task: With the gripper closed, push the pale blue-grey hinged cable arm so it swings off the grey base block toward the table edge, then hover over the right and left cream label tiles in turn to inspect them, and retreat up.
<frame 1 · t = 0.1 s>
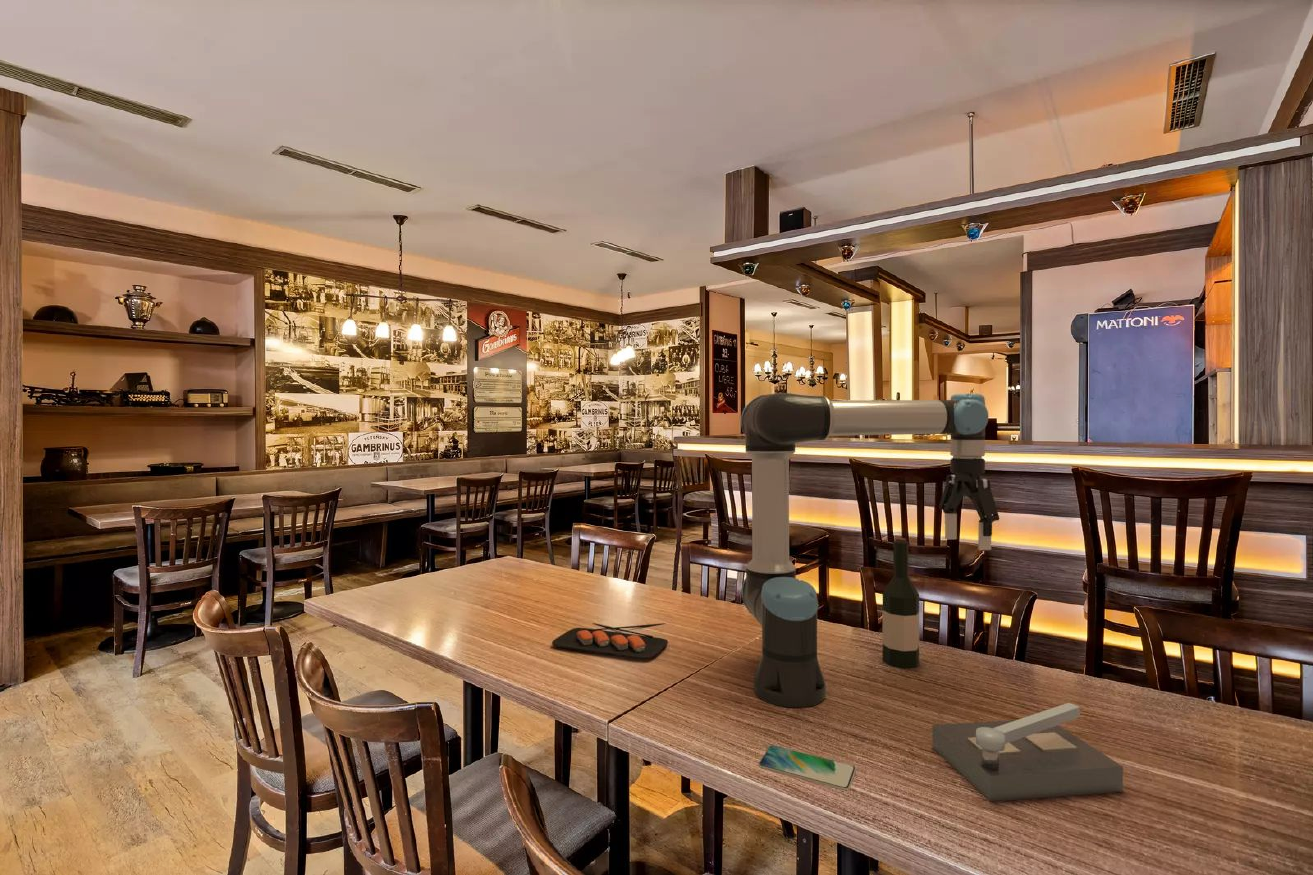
hand: (967, 544, 150), 28 cm above the table, fingers open, 13 cm apart
cable arm: (1030, 725, 101), point 8 cm above the table, hinge at 20.0°
grey base block: (1021, 768, 103), on the table
wine bottle: (900, 663, 149), on the table
smartphone: (806, 771, 103), on the table
sushi plate: (622, 639, 168), on the table
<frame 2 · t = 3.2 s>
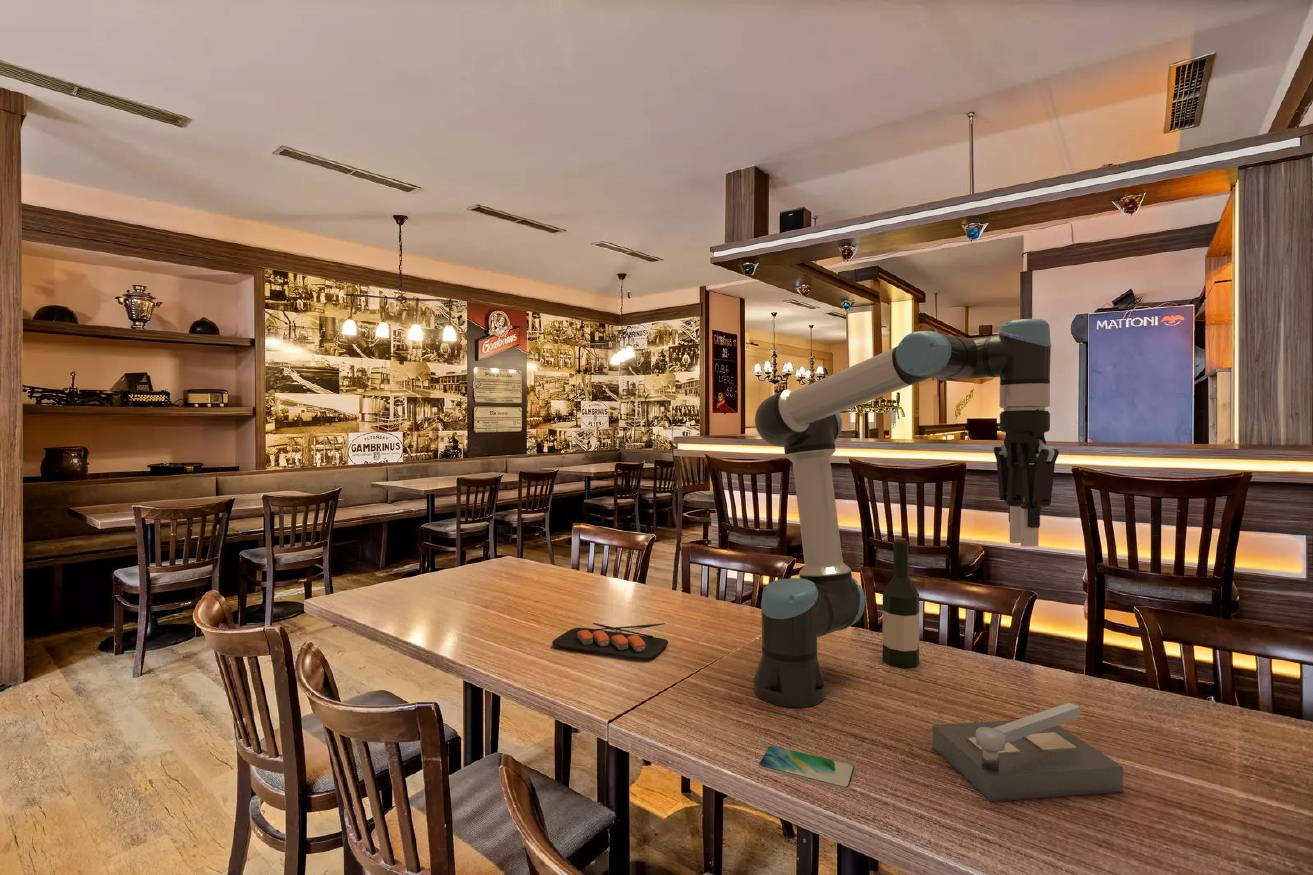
hand: (1023, 544, 107), 36 cm above the table, fingers open, 2 cm apart
nothing on the table moved.
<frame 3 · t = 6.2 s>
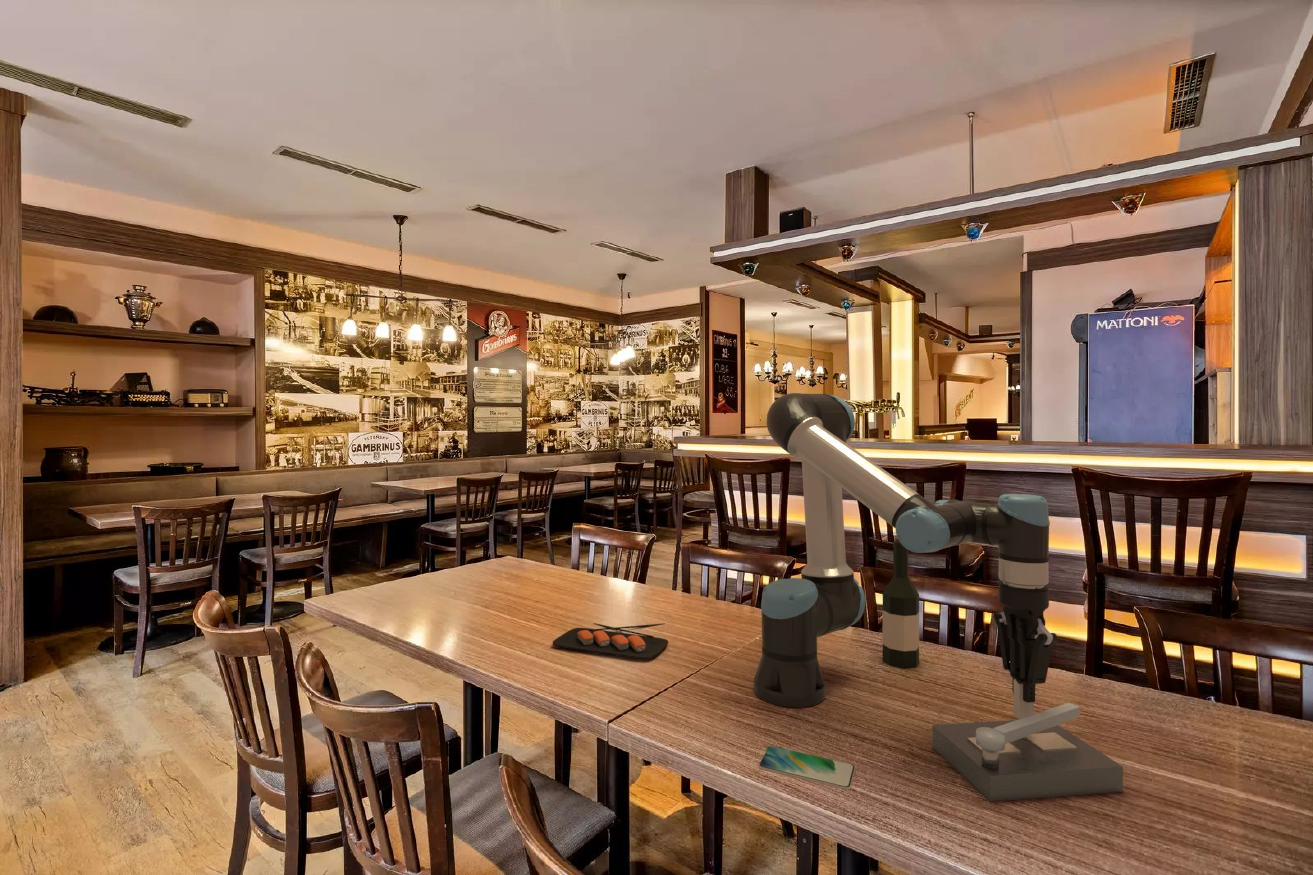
hand: (1023, 717, 108), 6 cm above the table, fingers closed
nothing on the table moved.
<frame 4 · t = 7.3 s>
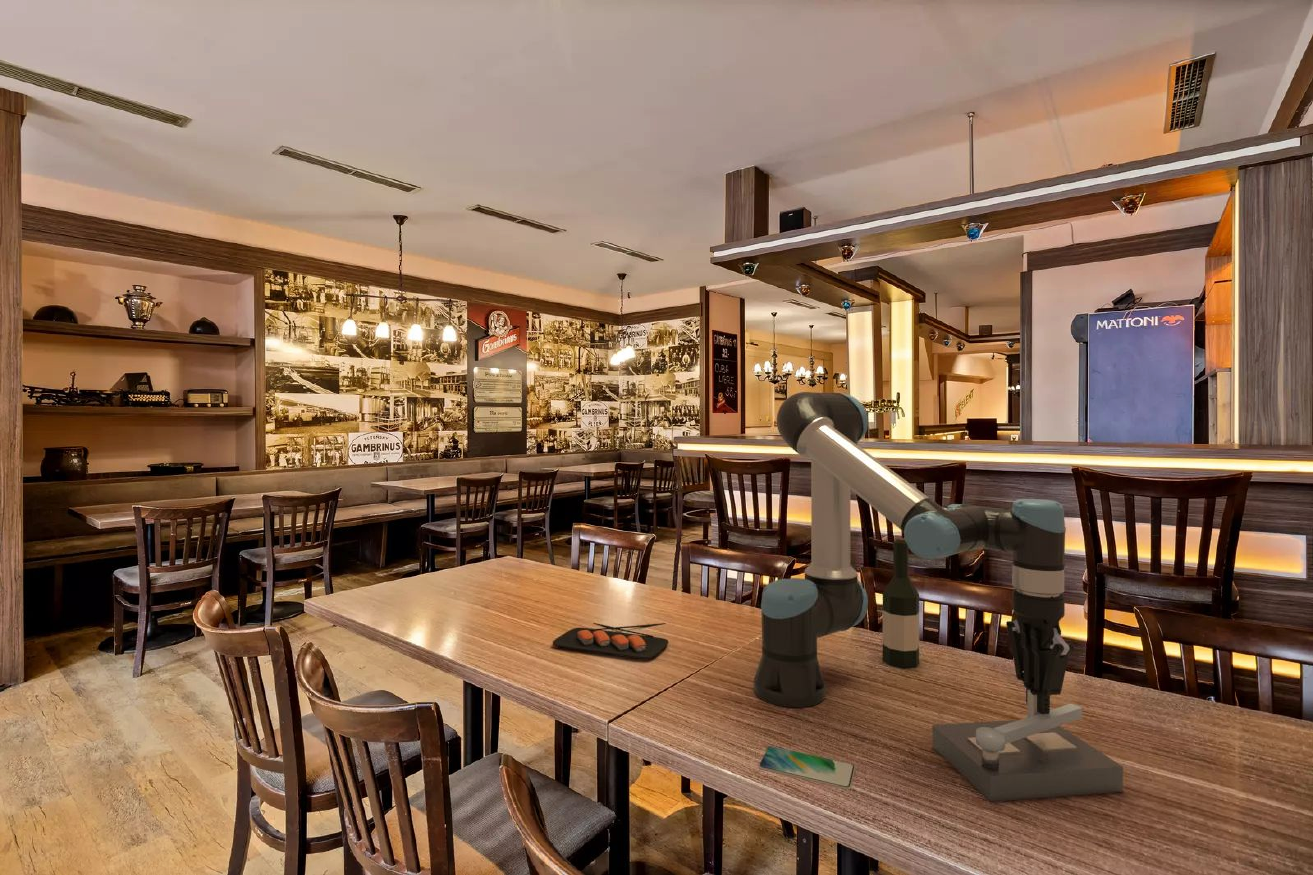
hand: (1037, 728, 105), 6 cm above the table, fingers closed
cable arm: (1031, 725, 101), point 8 cm above the table, hinge at 19.0°, touching gripper
everything else where it was.
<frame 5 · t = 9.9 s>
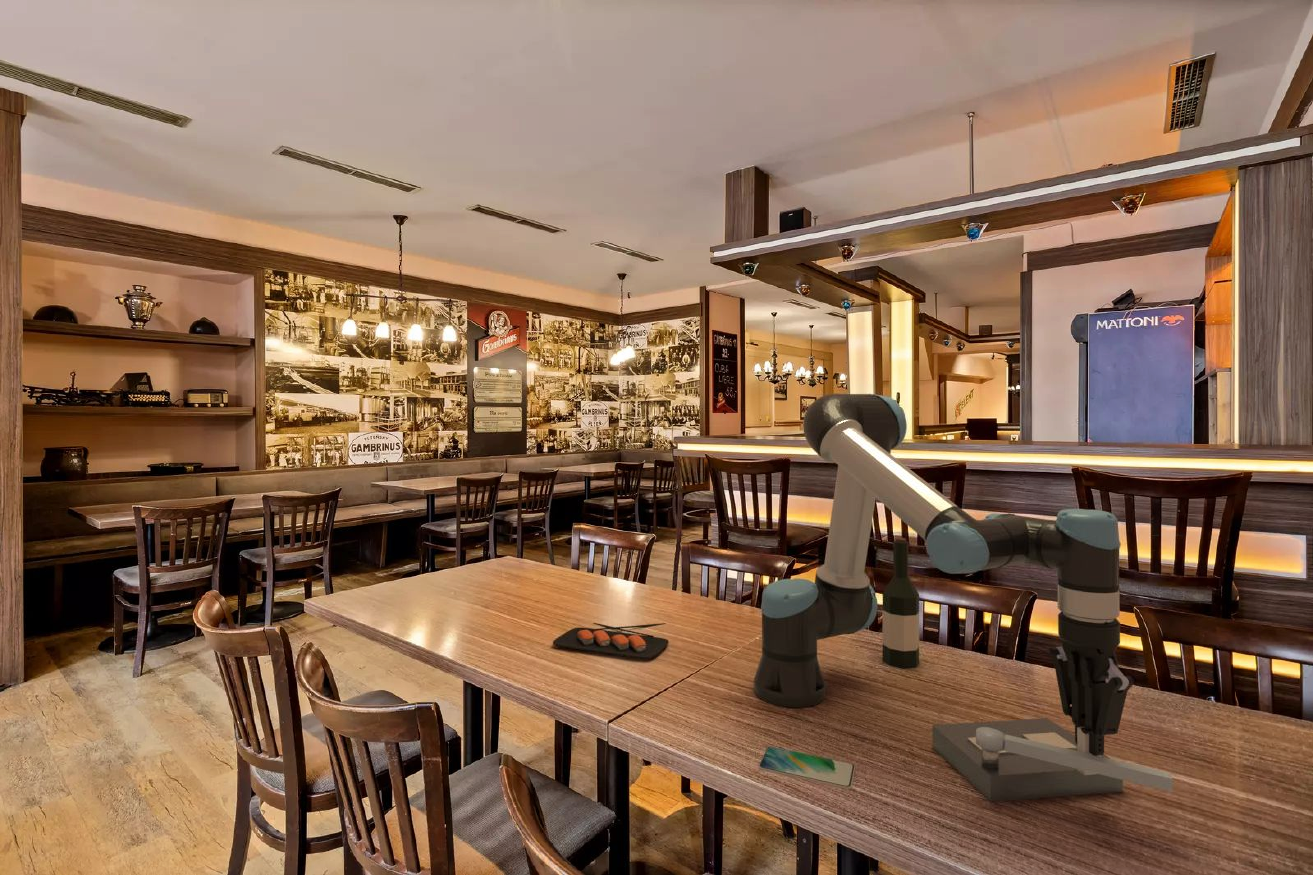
hand: (1089, 771, 92), 6 cm above the table, fingers closed
cable arm: (1066, 757, 91), point 8 cm above the table, hinge at -38.9°, touching gripper
everything else where it was.
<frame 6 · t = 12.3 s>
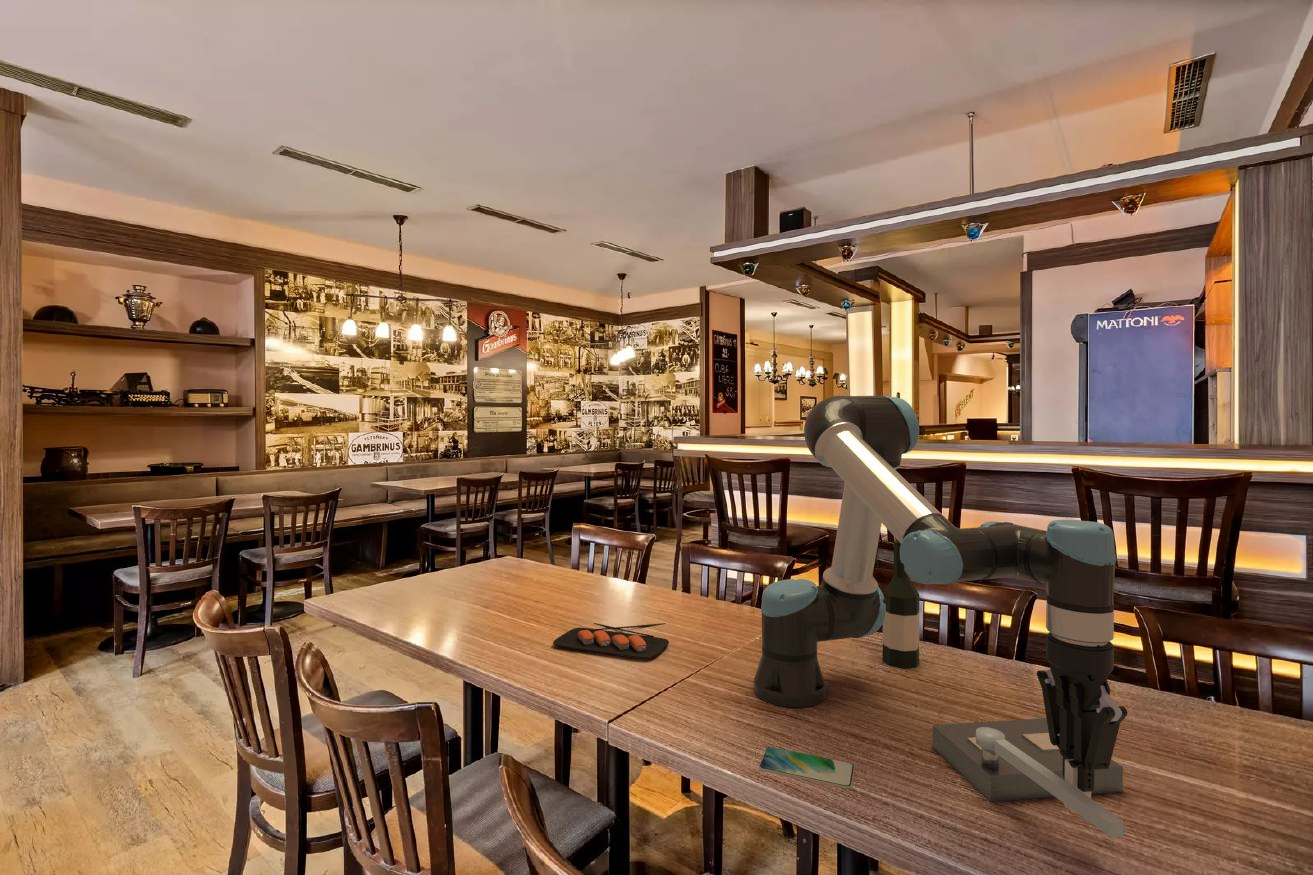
hand: (1077, 808, 83), 5 cm above the table, fingers closed
cable arm: (1040, 774, 87), point 8 cm above the table, hinge at -86.3°, touching gripper
everything else where it was.
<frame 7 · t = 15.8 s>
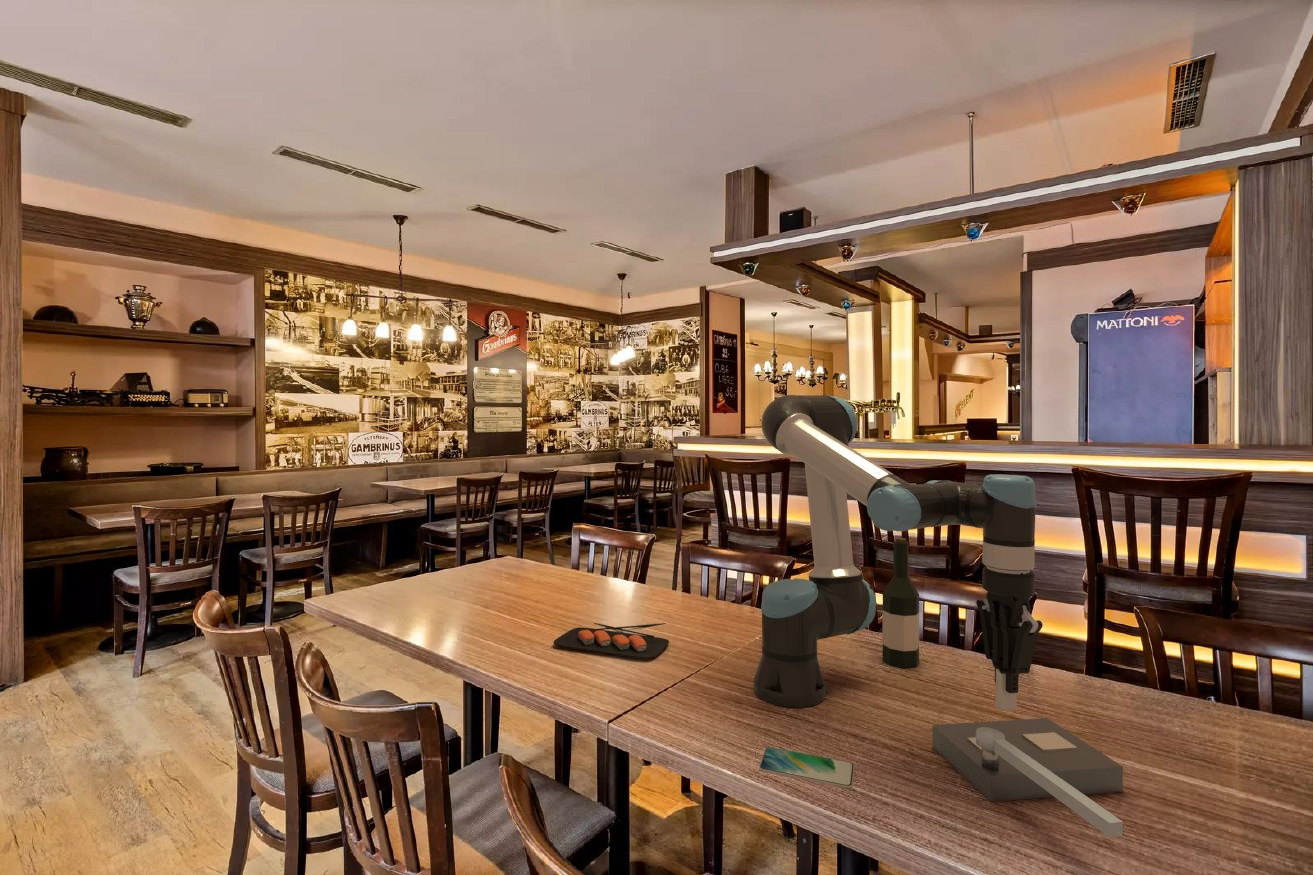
hand: (1005, 708, 103), 10 cm above the table, fingers closed
cable arm: (1039, 774, 87), point 8 cm above the table, hinge at -86.7°
everything else where it was.
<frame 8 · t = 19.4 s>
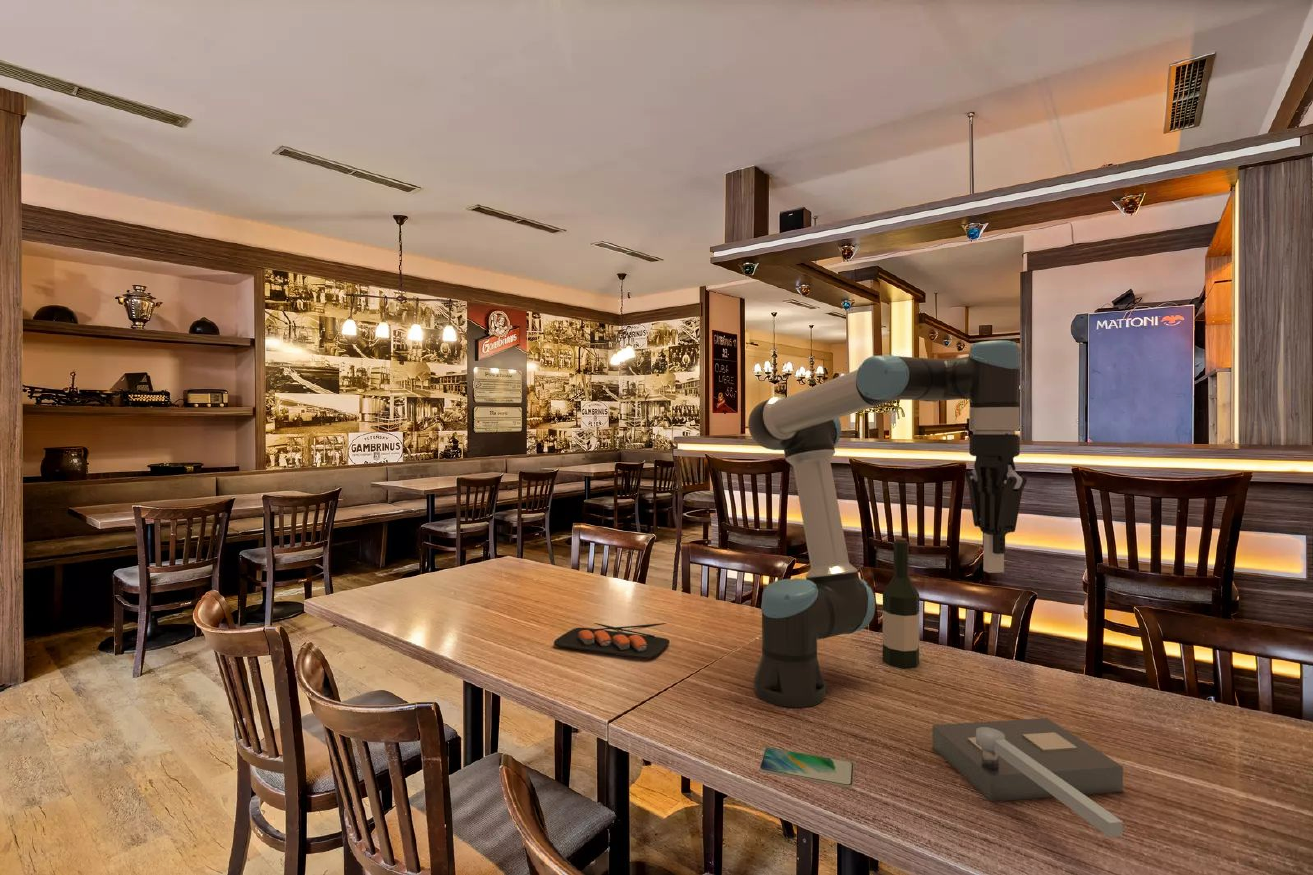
hand: (993, 571, 105), 32 cm above the table, fingers closed
nothing on the table moved.
at the end: cable arm at -87° (first picture: +20°) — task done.
